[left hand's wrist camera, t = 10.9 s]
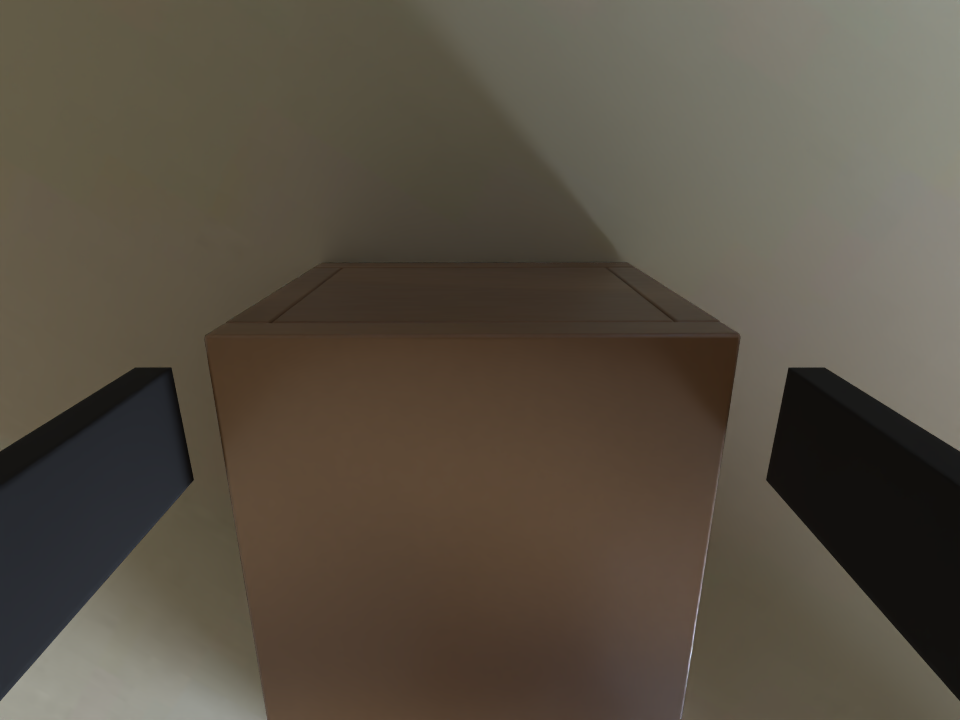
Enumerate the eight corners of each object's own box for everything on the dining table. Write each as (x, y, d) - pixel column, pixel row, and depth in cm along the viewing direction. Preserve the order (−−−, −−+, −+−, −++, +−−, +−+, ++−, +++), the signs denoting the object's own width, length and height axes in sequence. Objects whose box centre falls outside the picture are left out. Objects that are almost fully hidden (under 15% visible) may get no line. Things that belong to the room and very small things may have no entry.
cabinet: (594, 668, 26) (652, 915, 17) (357, 669, 25) (298, 918, 17) (628, 262, 20) (743, 333, 11) (319, 262, 20) (201, 335, 11)
